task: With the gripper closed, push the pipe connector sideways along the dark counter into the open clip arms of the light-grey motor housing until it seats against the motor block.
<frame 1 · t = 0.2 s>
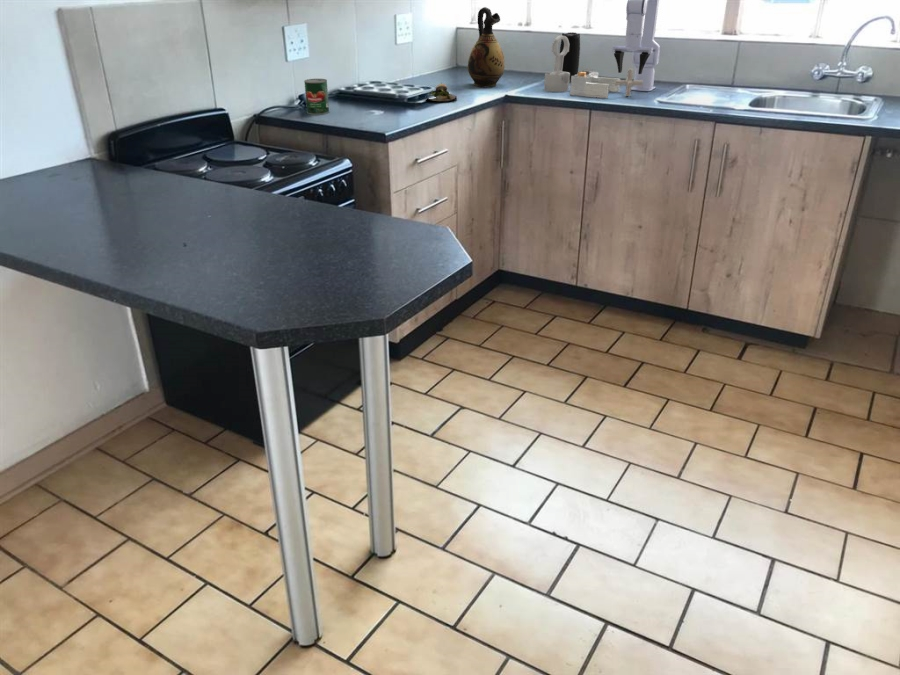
hand: (629, 73, 277), 10 cm above the kitchen counter, tool pointing down, fingers open, 7 cm apart
burger: (441, 101, 285), on the kitchen counter
engine component: (557, 89, 304), on the kitchen counter
portable speaker: (567, 80, 324), on the kitchen counter
pipe connector: (627, 96, 290), on the kitchen counter
canned tomato: (318, 113, 265), on the kitchen counter
ceramic jug: (484, 85, 314), on the kitchen counter
motor housing: (600, 93, 294), on the kitchen counter
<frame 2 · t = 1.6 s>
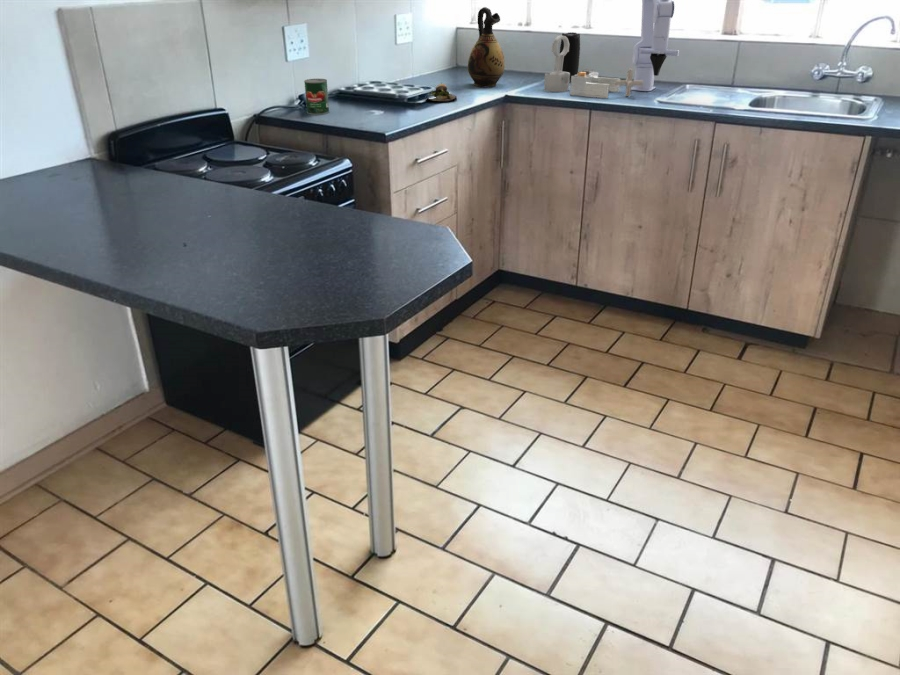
hand: (656, 75, 282), 8 cm above the kitchen counter, tool pointing down, fingers closed
nothing on the kitchen counter moved.
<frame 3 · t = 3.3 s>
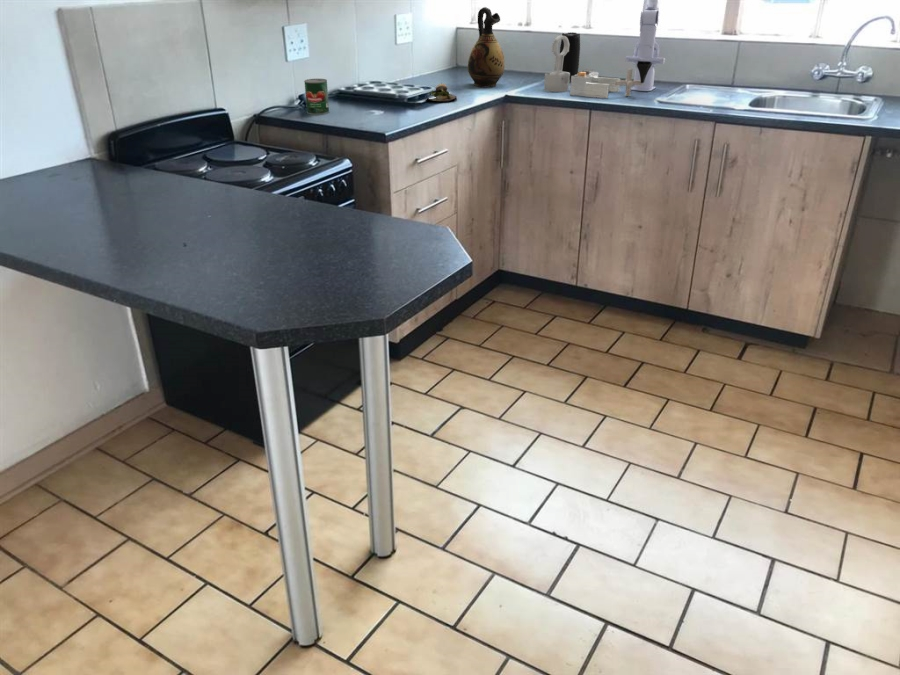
hand: (642, 82, 285), 5 cm above the kitchen counter, tool pointing down, fingers closed, pressing on pipe connector
pipe connector: (627, 96, 290), on the kitchen counter, touching gripper
everything else where it was.
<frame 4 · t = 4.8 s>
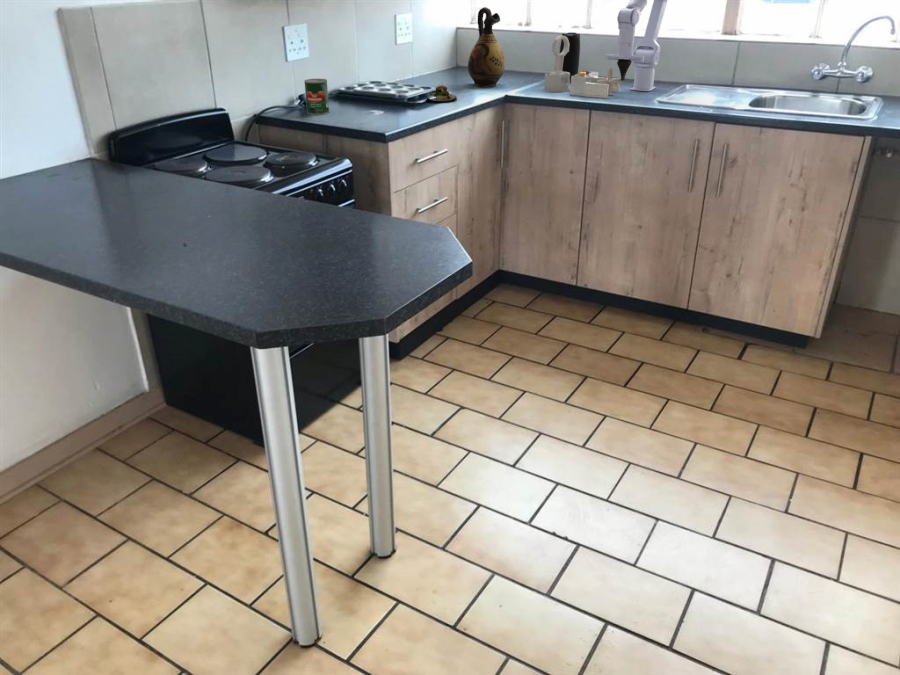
hand: (622, 80, 288), 6 cm above the kitchen counter, tool pointing down, fingers closed, pressing on pipe connector
pipe connector: (610, 95, 292), on the kitchen counter, touching gripper
everything else where it was.
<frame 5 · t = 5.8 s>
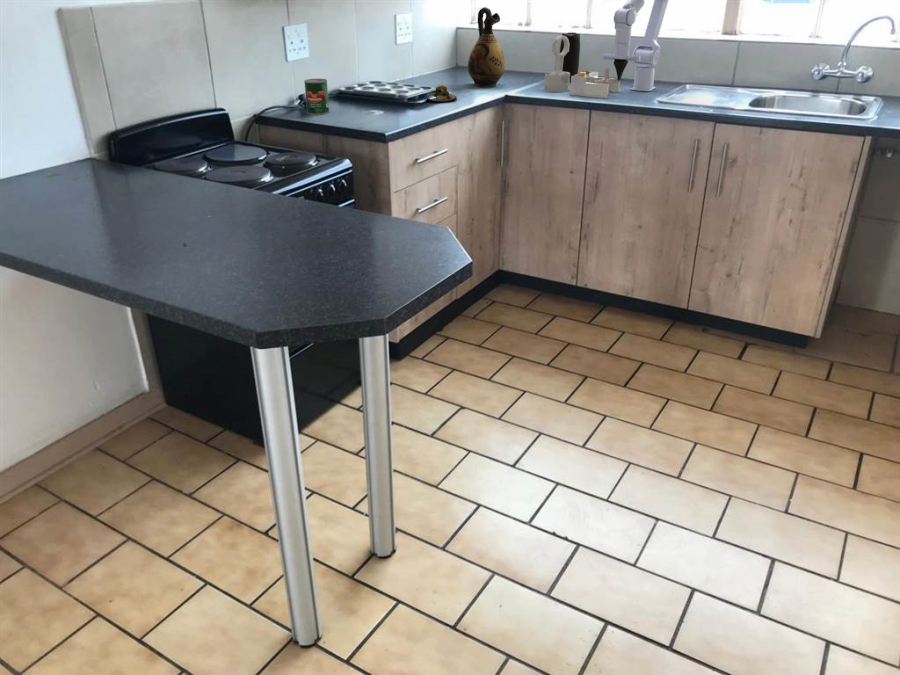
hand: (618, 80, 289), 6 cm above the kitchen counter, tool pointing down, fingers closed, pressing on pipe connector
pipe connector: (607, 95, 293), on the kitchen counter, touching gripper
everything else where it was.
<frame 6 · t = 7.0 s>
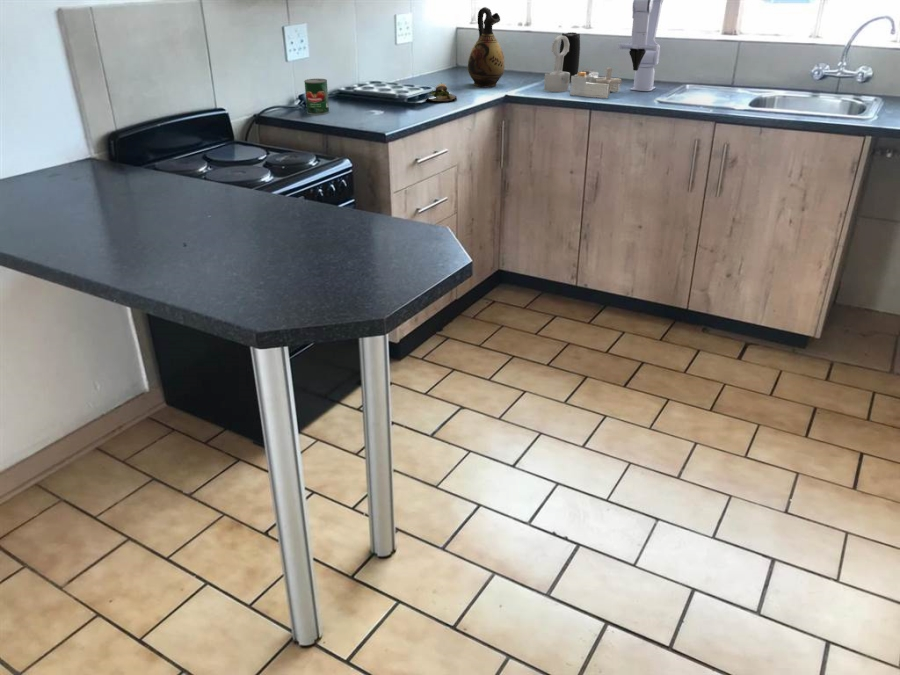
hand: (635, 70, 284), 10 cm above the kitchen counter, tool pointing down, fingers closed
pipe connector: (607, 95, 293), on the kitchen counter
everything else where it was.
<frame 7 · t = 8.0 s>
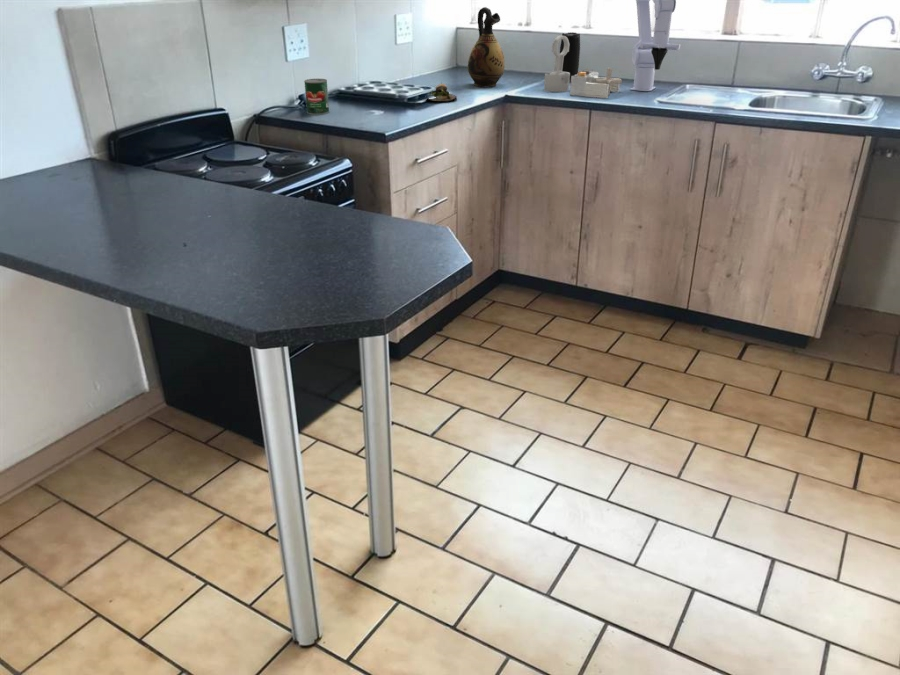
hand: (657, 69, 285), 10 cm above the kitchen counter, tool pointing down, fingers closed
nothing on the kitchen counter moved.
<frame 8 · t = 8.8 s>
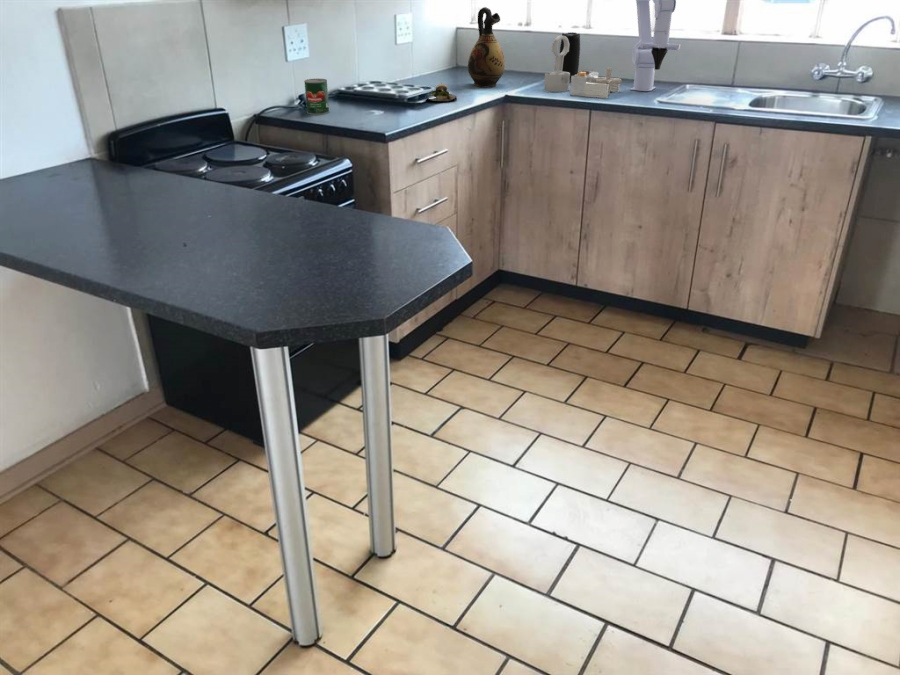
hand: (657, 69, 285), 10 cm above the kitchen counter, tool pointing down, fingers closed
nothing on the kitchen counter moved.
at the end: pipe connector inside the target area (2.5 cm from its centre), on the kitchen counter; pipe connector moved 8.1 cm from its start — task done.
